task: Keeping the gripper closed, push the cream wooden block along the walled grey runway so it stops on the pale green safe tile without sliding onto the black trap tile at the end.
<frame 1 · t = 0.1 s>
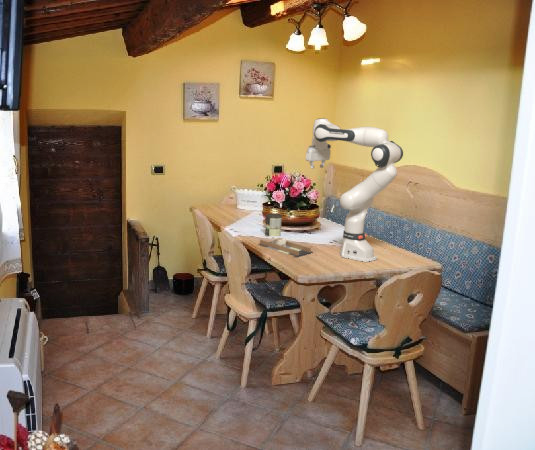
hand: (317, 168, 330), 48 cm above the table, tool pointing down, fingers open, 8 cm apart
block: (278, 246, 326), point 1 cm above the table, touching runway
runway: (284, 249, 323), on the table
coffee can: (272, 236, 355), on the table
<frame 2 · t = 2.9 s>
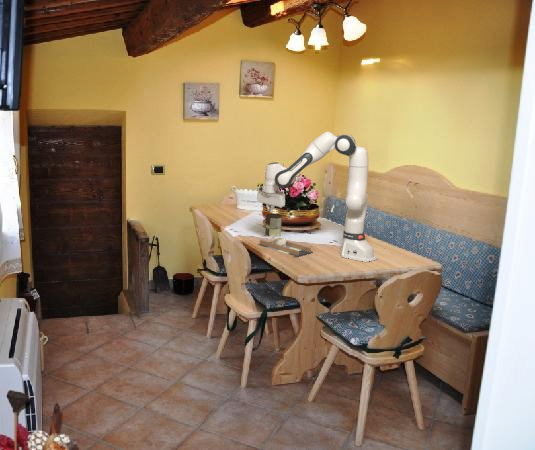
hand: (270, 211, 327), 21 cm above the table, tool pointing down, fingers closed
nothing on the table moved.
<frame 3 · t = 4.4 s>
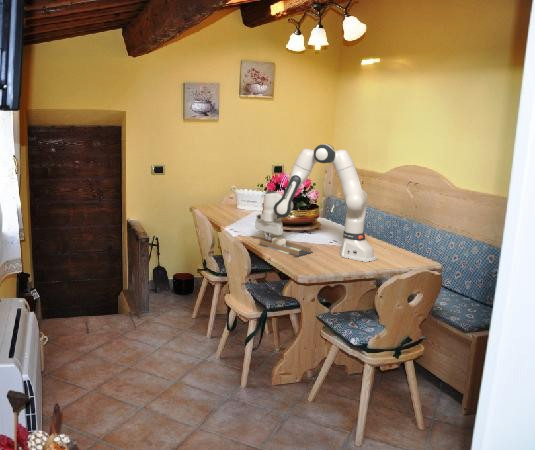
hand: (268, 239, 331), 3 cm above the table, tool pointing down, fingers closed
nothing on the table moved.
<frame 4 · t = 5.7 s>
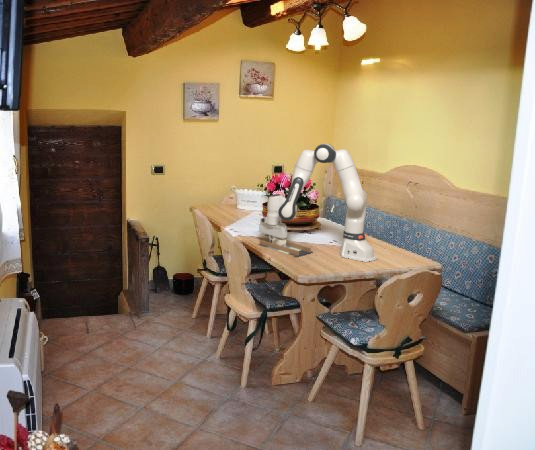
hand: (272, 242, 330), 2 cm above the table, tool pointing down, fingers closed
block: (278, 246, 326), point 1 cm above the table, touching gripper
everything else where it was.
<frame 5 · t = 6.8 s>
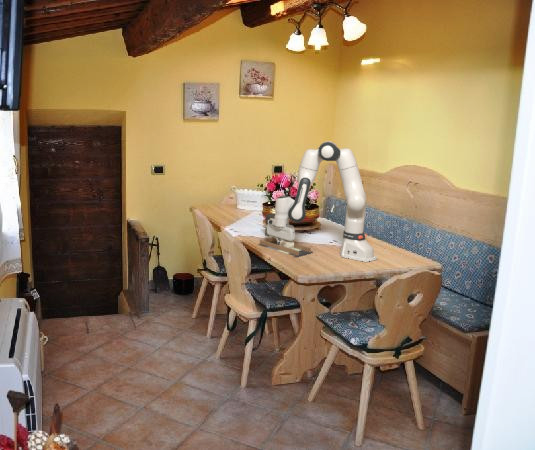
hand: (279, 244, 326), 2 cm above the table, tool pointing down, fingers closed
block: (286, 248, 322), point 1 cm above the table, touching gripper
everything else where it was.
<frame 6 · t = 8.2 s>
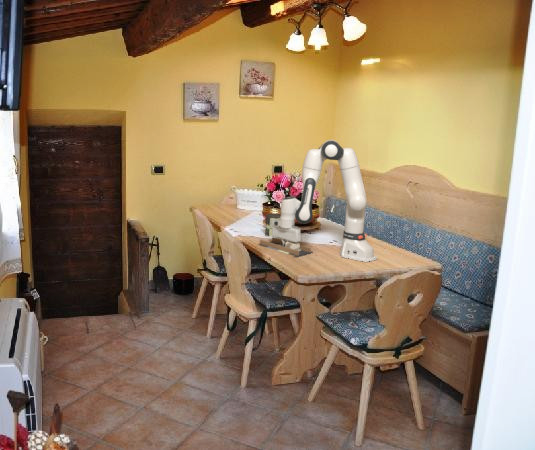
hand: (285, 246, 323), 2 cm above the table, tool pointing down, fingers closed
block: (292, 250, 319), point 1 cm above the table, touching gripper, runway
everything else where it was.
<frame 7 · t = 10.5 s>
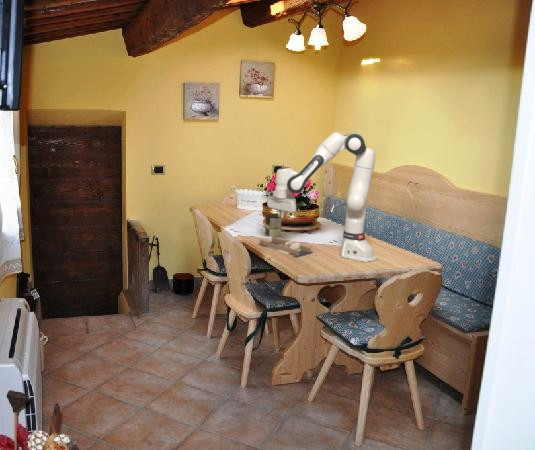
hand: (280, 217, 322), 19 cm above the table, tool pointing down, fingers closed
block: (292, 250, 319), point 1 cm above the table, touching runway
everything else where it was.
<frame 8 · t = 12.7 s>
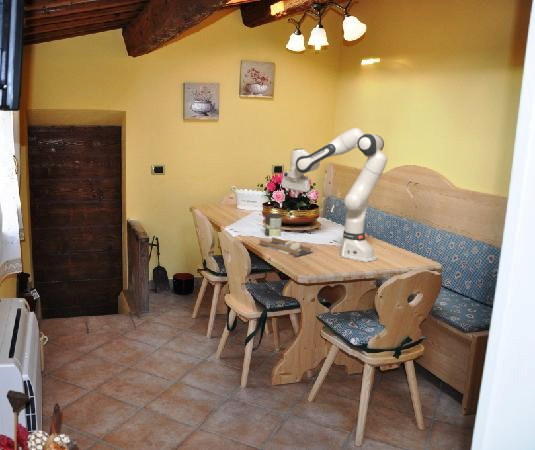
hand: (294, 196, 335), 29 cm above the table, tool pointing down, fingers closed
nothing on the table moved.
at the end: block inside the target area (0.9 cm from its centre), point 1.0 cm above the table; block tilted 0° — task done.
